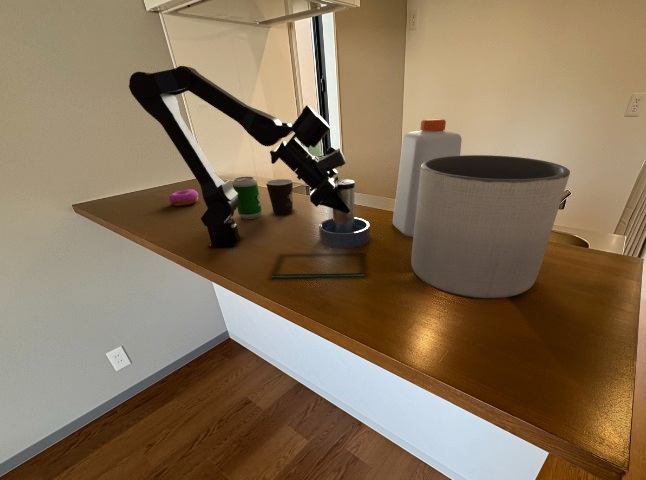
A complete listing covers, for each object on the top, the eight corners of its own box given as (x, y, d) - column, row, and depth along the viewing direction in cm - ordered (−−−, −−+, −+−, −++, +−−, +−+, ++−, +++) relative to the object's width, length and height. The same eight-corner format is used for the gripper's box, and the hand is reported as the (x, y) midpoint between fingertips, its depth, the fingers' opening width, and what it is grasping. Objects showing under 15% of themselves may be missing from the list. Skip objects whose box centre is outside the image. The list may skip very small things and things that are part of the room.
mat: (271, 279, 69) (271, 277, 69) (281, 255, 79) (281, 254, 79) (364, 277, 69) (364, 275, 69) (362, 254, 79) (362, 252, 79)
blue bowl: (318, 251, 81) (317, 234, 79) (322, 232, 92) (321, 217, 90) (370, 250, 81) (370, 233, 79) (367, 231, 92) (367, 216, 90)
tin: (332, 236, 83) (330, 184, 76) (333, 228, 88) (331, 179, 81) (355, 236, 83) (354, 184, 76) (354, 228, 88) (354, 179, 81)
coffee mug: (282, 217, 104) (278, 186, 99) (265, 213, 109) (260, 182, 103) (307, 209, 112) (304, 179, 107) (290, 205, 116) (286, 176, 111)
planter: (411, 247, 82) (419, 154, 70) (515, 252, 78) (543, 155, 66) (409, 299, 61) (420, 179, 49) (552, 310, 57) (602, 182, 45)
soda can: (259, 219, 103) (252, 181, 96) (236, 220, 103) (227, 181, 97) (265, 212, 109) (259, 175, 103) (243, 212, 109) (236, 176, 103)
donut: (182, 199, 125) (178, 187, 123) (206, 200, 124) (203, 188, 122) (165, 207, 117) (161, 194, 114) (191, 207, 115) (187, 195, 113)
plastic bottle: (408, 241, 85) (418, 122, 70) (388, 223, 98) (393, 118, 83) (458, 235, 89) (478, 120, 74) (432, 218, 101) (445, 117, 86)
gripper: (321, 140, 65) (374, 195, 71) (327, 132, 81) (369, 177, 87) (287, 181, 69) (339, 229, 75) (299, 165, 85) (341, 206, 91)
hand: (349, 208), depth 82 cm, fingers closed on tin, 5 cm apart
